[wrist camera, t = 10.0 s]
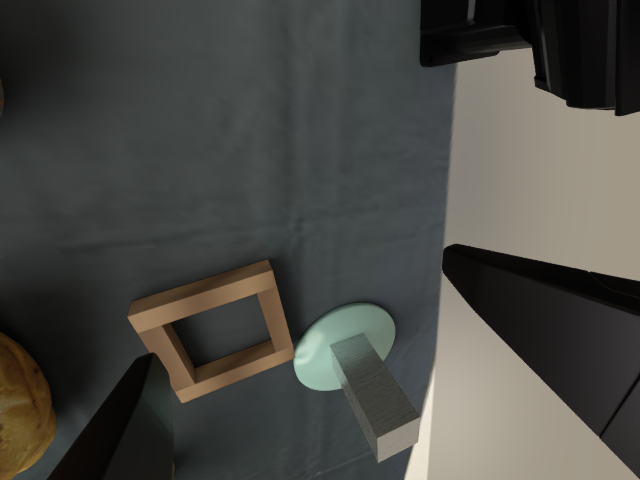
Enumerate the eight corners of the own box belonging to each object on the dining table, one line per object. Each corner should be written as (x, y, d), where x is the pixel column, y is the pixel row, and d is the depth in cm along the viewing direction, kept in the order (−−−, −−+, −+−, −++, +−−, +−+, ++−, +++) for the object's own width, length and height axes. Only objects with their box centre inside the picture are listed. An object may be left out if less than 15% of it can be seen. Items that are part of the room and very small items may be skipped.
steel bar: (363, 332, 29) (420, 416, 22) (364, 356, 31) (418, 442, 24) (329, 345, 29) (377, 438, 21) (333, 369, 30) (378, 462, 23)
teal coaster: (391, 287, 29) (395, 291, 28) (392, 360, 35) (395, 364, 34) (282, 328, 26) (284, 332, 26) (303, 400, 32) (304, 405, 31)
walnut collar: (267, 259, 23) (272, 270, 21) (290, 344, 28) (295, 357, 26) (131, 301, 20) (127, 316, 19) (182, 386, 25) (182, 403, 24)
